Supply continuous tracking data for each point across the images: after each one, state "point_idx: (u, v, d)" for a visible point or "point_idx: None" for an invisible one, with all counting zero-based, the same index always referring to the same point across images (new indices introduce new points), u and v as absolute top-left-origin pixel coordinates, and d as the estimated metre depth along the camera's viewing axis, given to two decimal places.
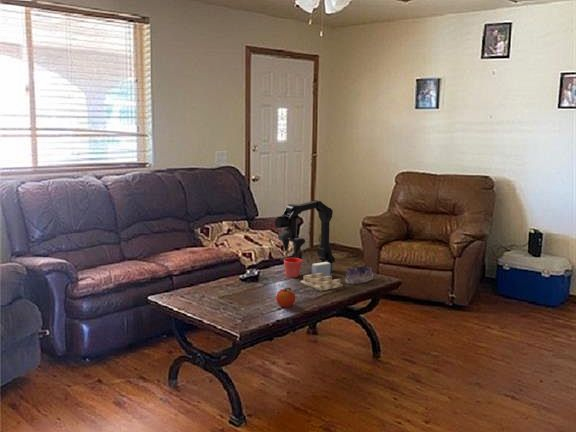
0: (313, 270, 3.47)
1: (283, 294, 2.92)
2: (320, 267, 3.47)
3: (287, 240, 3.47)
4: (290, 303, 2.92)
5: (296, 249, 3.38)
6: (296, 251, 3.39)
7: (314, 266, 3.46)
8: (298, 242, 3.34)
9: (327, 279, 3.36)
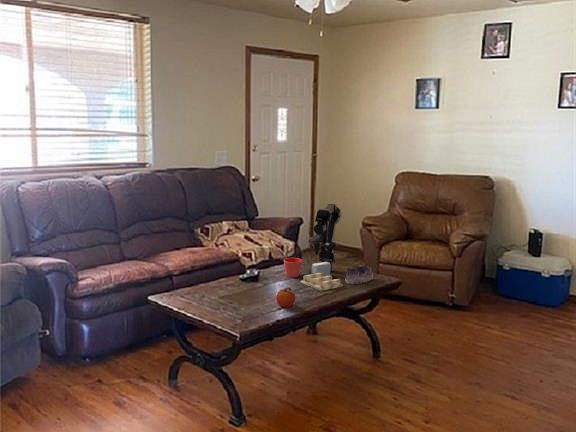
0: (313, 270, 3.47)
1: (283, 294, 2.92)
2: (320, 267, 3.47)
3: (318, 244, 3.52)
4: (290, 303, 2.92)
5: (327, 253, 3.44)
6: (327, 255, 3.44)
7: (314, 266, 3.46)
8: (330, 246, 3.39)
9: (327, 279, 3.36)
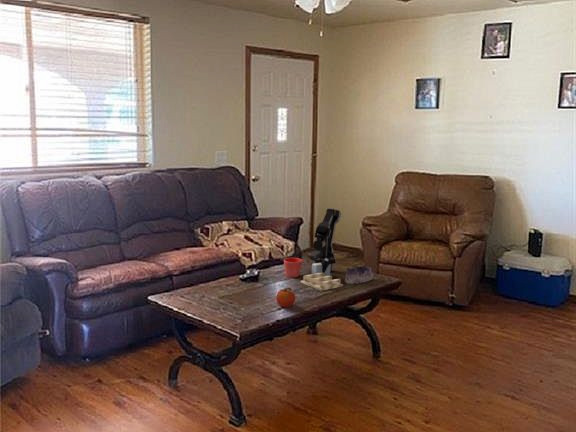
0: (313, 270, 3.47)
1: (283, 294, 2.92)
2: (320, 267, 3.47)
3: (320, 260, 3.52)
4: (290, 303, 2.92)
5: (324, 268, 3.47)
6: (324, 270, 3.48)
7: (314, 266, 3.46)
8: (329, 262, 3.40)
9: (327, 279, 3.36)
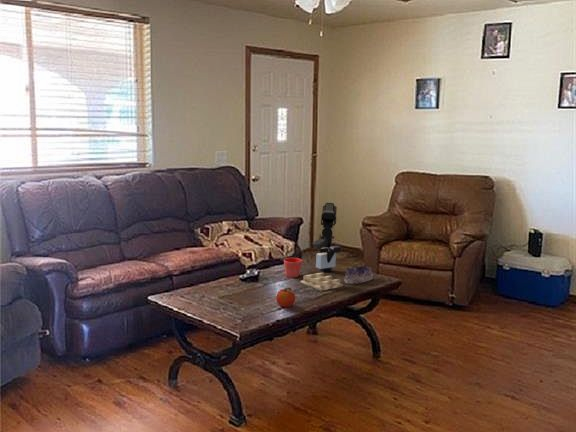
0: (318, 260, 3.29)
1: (283, 294, 2.92)
2: (325, 257, 3.29)
3: (325, 249, 3.34)
4: (290, 303, 2.92)
5: (329, 257, 3.29)
6: (329, 259, 3.30)
7: (319, 256, 3.28)
8: (335, 250, 3.23)
9: (327, 279, 3.36)
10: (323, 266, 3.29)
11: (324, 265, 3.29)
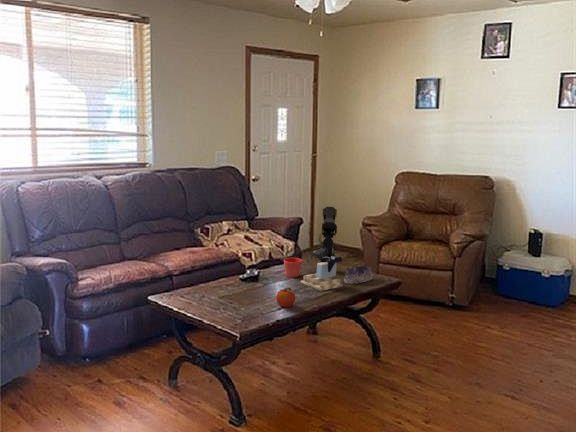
0: (318, 270, 3.28)
1: (283, 294, 2.92)
2: (325, 266, 3.27)
3: (325, 259, 3.33)
4: (290, 303, 2.92)
5: (330, 266, 3.28)
6: (330, 268, 3.28)
7: (319, 265, 3.27)
8: (335, 261, 3.21)
9: (327, 279, 3.36)
10: (324, 276, 3.28)
11: (324, 275, 3.28)
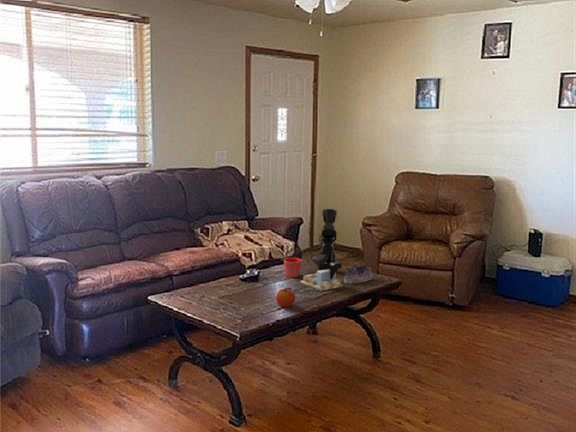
0: (318, 277, 3.28)
1: (283, 294, 2.92)
2: (325, 274, 3.28)
3: (323, 264, 3.35)
4: (290, 303, 2.92)
5: (332, 274, 3.27)
6: (332, 276, 3.27)
7: (319, 273, 3.27)
8: (335, 267, 3.22)
9: None
10: None
11: None
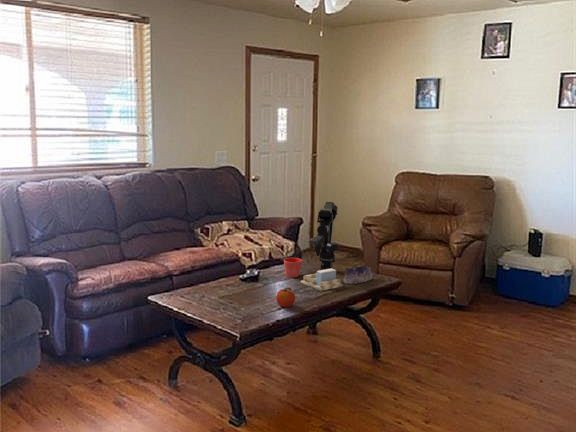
0: (318, 277, 3.28)
1: (283, 294, 2.92)
2: (325, 274, 3.28)
3: (319, 245, 3.46)
4: (290, 303, 2.92)
5: (329, 254, 3.38)
6: (329, 256, 3.38)
7: (319, 273, 3.27)
8: (331, 247, 3.33)
9: None
10: None
11: None
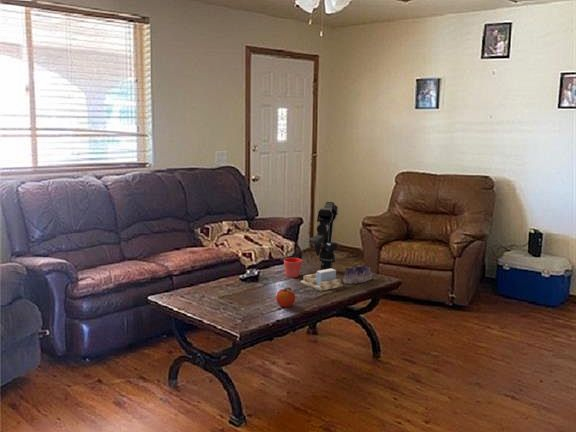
0: (318, 277, 3.28)
1: (283, 294, 2.92)
2: (325, 274, 3.28)
3: (319, 244, 3.47)
4: (290, 303, 2.92)
5: (329, 253, 3.38)
6: (329, 255, 3.39)
7: (319, 273, 3.27)
8: (331, 247, 3.33)
9: None
10: None
11: None
